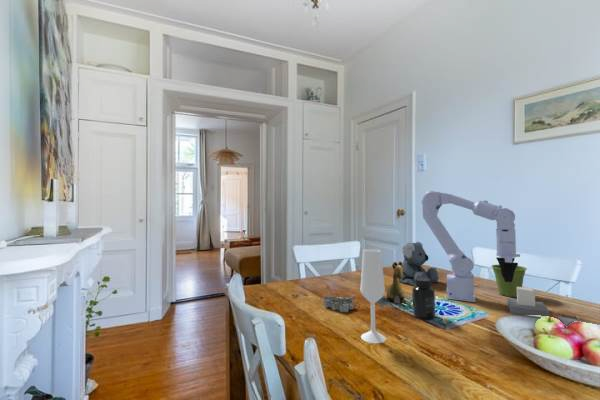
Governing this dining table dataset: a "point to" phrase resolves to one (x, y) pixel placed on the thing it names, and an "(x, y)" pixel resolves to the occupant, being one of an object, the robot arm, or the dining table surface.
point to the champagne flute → (372, 288)
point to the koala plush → (416, 264)
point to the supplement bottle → (423, 299)
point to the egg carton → (339, 303)
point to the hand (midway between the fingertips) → (507, 279)
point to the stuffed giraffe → (394, 289)
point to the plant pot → (509, 287)
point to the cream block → (526, 296)
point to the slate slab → (527, 308)
